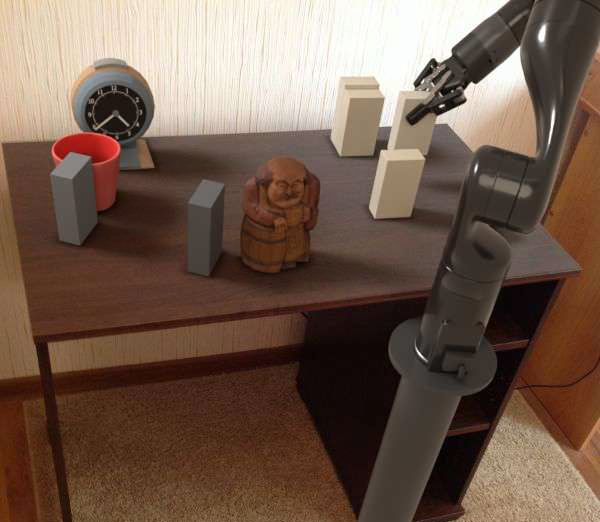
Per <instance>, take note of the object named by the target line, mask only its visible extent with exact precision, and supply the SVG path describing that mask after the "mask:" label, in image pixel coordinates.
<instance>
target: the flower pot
mask: <svg viewBox="0 0 600 522" xmlns="http://www.w3.org/2000/svg"><path fill="white" fill-rule="evenodd" d="M70 152H73V153H77V154H81V155H86V156H90V157H92V167H93V178H94V188H95V199H96V209H97V212H101V211H105V210H107V209H109V208H111V207H112V206H113V205H114V203H115V201H116V197H117V196H116V195H117V189H118V182H119V175H120V170H119V166H120V156H121V147H120V145H119V143H118V142H117V141H116V140H114V139H113V138H111V137H109V136H106V135H103V134H98V133H84V132H77V133H76V132H75V133H72V134H68V135H67V134H66V135H65V136H63V137H60V138H59V139H58V140H56V141H55V142H54V143H53V145H52V148H51V155H52V158H53V162H54V164H55V168H56V167H57V166H58V165H59V164H60V163H61V162H62V160H63V159H64V158H65V157H66V156H67V155H68V154H69V153H70Z"/></svg>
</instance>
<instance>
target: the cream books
mask: <svg viewBox="0 0 600 522" xmlns="http://www.w3.org/2000/svg"><path fill="white" fill-rule="evenodd" d="M380 86H381V85H380V82H378V80H377V78H376V77H375V76H339V80H338V87H337V95H336V100H335V105H334V106H335V107H334V113H333V120H332V127H331V133H330V141H331V143H332V144H333V146H334V148H335V149H336V151H337V154H338V155H339V157H369V156H370V157H371V156H374V153H375V149H376V143H377V139H378V133H379V129H380V124H381V118H382V115H383V109H384V105H385V100H386V96H385V95H384V94H383V93H382V91H381V90H380ZM425 163H426V158H425V157H424V155H422V154H421V152H420V151H419V149H400V150H388V149H381V150H380V153H379V158H378V163H377V168H376V171H375V172H376V173H375V177H374V182H373V186H372V191H371V196H370V201H369V206H368V209H369V211H370V213H371V214H372V217H373V218H374V219H375V220H380V219H394V218H395V219H397V218H411V216H412V214H413V213H412V212H413V209H414V205H415V201H416V197H417V193H418V190H419V185H420V183H421V178H422V174H423V172H424V171H423V170H424V166H425Z"/></svg>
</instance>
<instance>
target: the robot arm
mask: <svg viewBox="0 0 600 522" xmlns="http://www.w3.org/2000/svg"><path fill="white" fill-rule="evenodd" d="M599 47H600V0H508V1H507V2H505V3H504V5H502V6H501V7H500V8H499V9H497V10H496V11H495V12H493V14H491V15H489V16H488V17H487V18H485V19H484V20H483V21H481V22H480V23H479V24H478V25H477V26H475V27H474V29H472V30H471V31H469V32H468V33H467V34H466V35H465V36H463V38H461V40H459V41H458V42H457V43H456V44H454V46H452V48H451V51H450V53H451V56H449V57H448V58H446V59H444V60H442V61H441V62H439V61H437V59H436V58H435V57H431V58H430V59H429V60H428V62H427V63H426V65H425V67H424V68H423V69H422V70H421V72H420V73H419V75H418V76H417V77H416V79H415V80H414V81H413V83H412V85H413V86H414V89H413V91H431V94H430V95H429V96H428V97H427V98H426V99H425V100H424V101H423V104H422V103H420V104H419V105H418V106H417V107H415V108H414V109H413V110H412V111H411V112H410V113H408V114H407V115H406V117H405V118H406V120H407V121H408V123H409V124H410V125H411V126H413V125H414V124H416V123H418V122H419V121H420V120H421V119H422V118H424V117H425V116H426V115H427V114H428V113H430V114H431V113H434V114H435V115H436V116H437V117H439V116H442V115H443V114H446V113H448V112H450V111H452V110H454V109H456V108H458V107H460V106H462V105H464V104H466V103H467V101H468V98H467V97H466V95H465V91H466V90H467V88H468V87H469V85H470V84H471V83H472V84H474V85H478V84H479V83H481V82H482V81H483V80H484V79H486V77H488V76H489V75H490V74H491V73H492V72H493V71H495V70H496V69H497V68H499V67H500V66H501V65H502V64H503V63H505V62H506V61H507V60H508V59H509V58H510V57H511V56H512V55H513V54H515V52H516V51H517V50H518V49H519V60H520V65H521V70H522V73H523V78H524V82H525V85H526V88H527V92H528V95H529V98H530V101H531V102H530V103H531V106H532V111H533V115H534V120H535V130H536V131H535V132H536V141H535V142H536V143H535V145H536V146H535V155H534V156H532V155H528V154H524V153H521V152H518V151H514V150H510V149H505V148H503V147H499V146H495V145H492V144H491V145H490V144H482V145H481V146H479V147H478V148H477V149H476V150H475V151H474V152H473V154H472V155H471V157H470V159H469V161H468V164H467V166H466V169H465V171H464V175H463V179H462V182H461V186H460V190H459V194H458V198H457V204H456V207H455V210H454V211H455V212H454V215H453V219H452V223H451V226H450V229H449V232H448V236H447V237H446V238H447V239H446V240H445V243H444V244H445V245H444V247H443V250H442V252H441V253H442V254H441V257H440V261H439V263H438V267H437V269H436V273H435V276H434V279H433V282H432V285H431V287H430V288H431V289H430V291H429V295H428V298H427V302H426V305H425V308H424V311H423V315H422V316H423V317H422V320H421V324H420V327H419V331H418V334H417V336H416V338H415V341H414V345H413V348H414V352H415V355H416V356H417V358H418V359H419V360H420V361H421V362H422V363H423V364H424V365H426V367H427V370H428V371H429V372H441V373H455V374H458V375H457V376H456V380H457V381H461V380H462V379H464V376H465V374H468V372H476V371H477V368H478V366H479V364H480V361H481V359H480V355H479V352H477V349H478V346H479V344H480V341H481V339H482V336H484V334H485V331H486V328H487V326H488V323H489V321H490V317H491V315H492V313H493V311H494V308H495V305H496V303H497V300H498V297H499V294H500V293H501V290H502V288H503V285H504V283H505V280H506V278H507V276H508V273H509V270H510V268H511V265H512V263H513V257H514V253H513V249H512V246H511V245H510V243H509V241H508V240H507V239H506V238H505V237H504V236H502V235H501V233H499V232H497V230H496V229H494V228H491V227H490V226H489V225H492V226H495V227H499V228H501V229H502V230H506V231H510V232H514V233H516V234H517V233H518V234H523V235H528V234H531V233H533V232H534V231H535V230H536V229H537V228H538V227H539V225H540V223H541V221H542V219H543V217H544V215H545V213H546V210H547V208H548V205H549V202H550V200H551V199H550V198H551V197H552V196H551V195H552V192H553V190H554V186H555V182H556V179H557V175H558V171H559V167H560V164H561V160H562V157H563V153H564V149H565V145H566V142H567V138H568V135H569V131H570V128H571V124H572V122H573V117H574V115H575V111H576V109H577V106H578V103H579V99H580V97H581V95H582V92H583V89H584V86H585V85H586V81H587V79H588V76H589V73H590V71H591V67H592V65H593V62H594V59H595V57H596V54H597V51H598V49H599ZM435 98H436V99H437V100H435V101H433V100H434V99H435ZM439 106H440V107H439ZM487 224H488V225H487Z"/></svg>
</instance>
